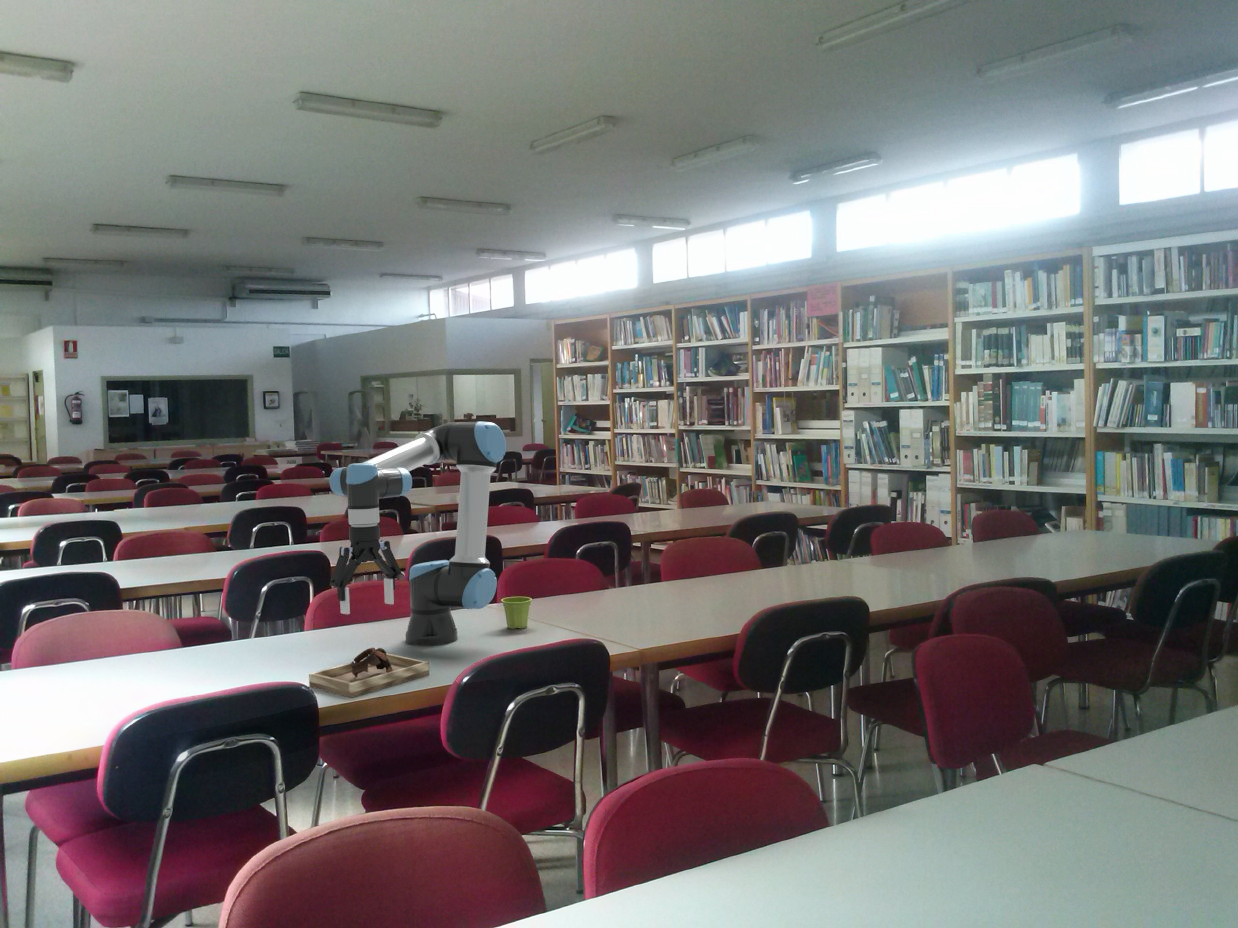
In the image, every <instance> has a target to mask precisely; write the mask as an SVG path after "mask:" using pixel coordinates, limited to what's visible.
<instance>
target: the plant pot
mask: <svg viewBox="0 0 1238 928" xmlns="http://www.w3.org/2000/svg"><path fill="white" fill-rule="evenodd" d="M532 600H533V599H532V598H531V597H528V596H510V597H504V598H501V599H500V601H501V603H502V606H503V608H504V613H505V614H504V615H505V620H506V626H507V628H508V629H512V630H515V629H517V628H518V629H524V628H527V627H528V620H529V613H530V606H531V603H532Z"/></svg>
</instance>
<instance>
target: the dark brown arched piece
mask: <svg viewBox="0 0 1238 928" xmlns="http://www.w3.org/2000/svg"><path fill="white" fill-rule="evenodd" d="M386 653H387V652H386V650H385V649H384V648H382V647H378V648H377V649H376V648H375V647H370V648H367V649H365V650H362V652H360V653H359V654H358V655H356V656H355V657H354V658H353V661H351V662H352V663H351V662H350V663H351V664H350V666H351V667H352V668H353V669H352V674H354V676H355V677H357V676H358V673H361V672H363V671H365V672H368V664H370V665H376V667H377V669H384V668H386V672H387V673H388V672H392V671H393V670H392V666H391V664H390V662H389V660H388V657H387V655H386ZM363 659H364V660H363ZM361 660H362V661H361ZM360 661H361V662H360ZM354 662H355V664H354Z"/></svg>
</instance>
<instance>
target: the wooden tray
mask: <svg viewBox="0 0 1238 928" xmlns="http://www.w3.org/2000/svg"><path fill="white" fill-rule="evenodd" d="M386 655H387V657H388V660H389V662H390V664H391V666H392V670H393V671H392V672H388V673H387V672H386V668H384V669H377V667H376V665H370V664H368V672H365V671H363V672H361V673H358V676H357V677H355V676H354V674H352V669H353V668H352V667H351V666H350V664H351V663H352V661H351V662H348V663H344V664H339V665H336V666H334V667H329V668H326V669H325V668H324V669H322V670H318V671H315V672H314V671H313V672H310V673H308V680H309V681H308V683H309V687H310V688H315V689H318V690H320V691H321V690H322V691H326V692H329V693H333V694H336V693H337V694H336V695H340V694H341V696H344V697H347V696H348V698H351V697H353V698H356V697H359V696H362V694H363V695H365V693H366V694H369V693H372V692H375V691H379V690H382V689H386V688H389V687H392V686H395V685H399V684H402V682H403V683H406V682H409V681H412V680H416V679H418V678H419V679H420V678H422V677H426V676H429V675H430V662H429V661H426V660H425V661H424V660H420V659H415V658H411V657H406V656H402V655H396V654H392V653H387V652H386ZM364 659H365V658H364ZM364 659H363V660H364ZM361 661H362V660H361ZM361 661H360V662H361ZM353 662H354V664H355V661H353ZM358 695H359V696H358ZM355 696H356V697H355Z"/></svg>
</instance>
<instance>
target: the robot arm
mask: <svg viewBox="0 0 1238 928" xmlns="http://www.w3.org/2000/svg"><path fill="white" fill-rule="evenodd" d="M506 451H507V441H506V437H505V435H504V432H503V431H502V429H501V428H500V426H499V425H497V424H496V423H494V422H490V421H482V420H481V421H480V420H479V421H466V422H465V421H460V422H458V421H453V422H451V421H450V422H447V423H443V424H441V425H438V426H434V427H432V428H430V429H428V430H425V431H423V432H421V433H419V434H416V436H415V437H414V439H413V440H411V441H409V442H407V443H404V444H402V445H399V446H398V447H395V448H393V449H391V450H388V451H386V452H384V453H382V454H379V455H377V456H375V457H373V458H369V459H368V460H365V461H363V462H360V463H358V462H356V463H350V464H348V466H343V467H338V468H335V469H334V470H333V471H332V472H331V474H330V476H329V481H328V482H329V487H330V490H331V492H333V494H335V495H336V496H341V497H343V496H344V497H346V498H347V513H348V514H347V515H348V516H347V517H348V524H349V525H350V526H349V527H348V537H349V539H348V540H349V541H350V547H346V546H341V547H339V551H338V558H337V560H336V561H337V562H336V564H335V567H334V569H333V573H332V575H331V578H330V580H329V586H331V587H334V588H336V590H337V600H338V601H339V605H340V606H339V607H340V614H343V615H350V614H351V609H350V608H351V607H350V588H349V587H347V585H348V583H349V582H350V581H351V578H352V576H354V574H355V572H356V570H357V568H358V567H359V566H360V565H361V564H362V563H367V562H374V563H375V565H376V566H377V568H378V569H380V571H381V572H382V573H383V574H384V575H385V576H386V577H384V578H383V588H384V590H383V591H384V592H383V593H384V594H383V595H384V604H387V605H394V601H395V598H394V591H395V590H396V581H395V580H396V579H398V577H399V575H401V574H402V570H401V567H400V565H399V563H398V562H397V559H396V557H395V555H394V554H393V552H392V549H391V542H390V541H389V540H383V539H382V540H380V539H381V529H380V527H381V526H380V525H379V523H380V519H381V518H380V502H379V500H380V499H387V498H394V497H396V498H399V497H400V496H402V497H403V496H404V495H407V494H408V493H410V491H411V489H412V487H413V478H412V475H411V473H410V472H411V471H412V470H413V471H414V470H415V469H418V468H420V467H421V466H424V465H426V466H427V465H428V466H430V465H434V464H436V463H440V462H456V463H455V464H456V465H455V467H456V468H457V469H458V471H459V472H460V481H459V482H460V483H459V497H458V511H457V522H456V523H457V524H456V534H455V535H456V536H455V550H454V555H453V556H452V557H451V558H450V559H449V560H447V559H442V560H433V561H428V562H427V561H426V562H421V563H417V564H413V565H412V566H411V567H410V569H409V578H408V581H409V582H408V583H409V602H410V618H409V621H408V625H407V629H406V632H405V642H406V644H409V645H414V646H435V645H437V646H438V645H444V644H448V643H452V642H455V641H456V640H458V628H457V627H456V624H455V620H454V617H453V615H452V609H451V608H459V609H466V610H481V609H483V608H486V607H487V606H488V605H489V604H490V602H491V601H493V598H494V597H495V594H496V590H497V586H498V585H497V584H498V582H497V577H496V573H495V572H494V571H493V570H492V569H491V568H490V565H491V562H490V561H489V560H488V559H487V557H486V546H487V544H486V543H487V530H488V518H489V517H488V515H489V503H490V501H489V500H490V488H491V486H490V485H491V475H492V474H493V473H494V472H495V471H496V470H497V464H498V463H499V462H501V461H502V460H503V459H504V456H505V455H506ZM379 551H381V553H382V555H383V556H382V555H381V553H379Z"/></svg>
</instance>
